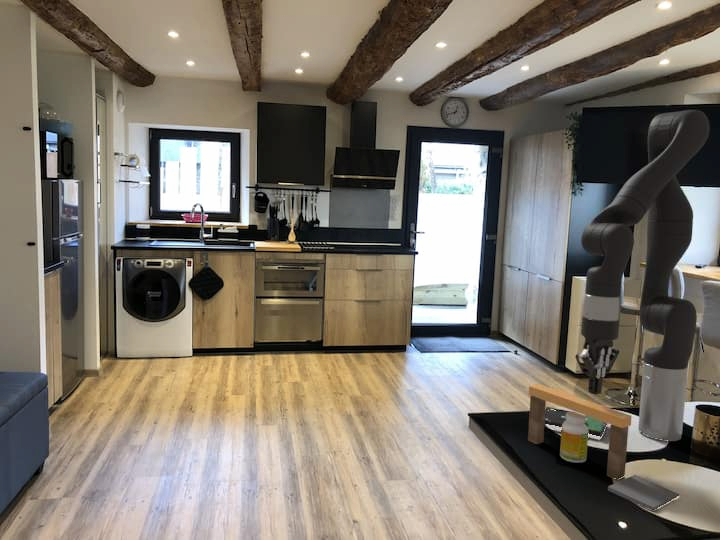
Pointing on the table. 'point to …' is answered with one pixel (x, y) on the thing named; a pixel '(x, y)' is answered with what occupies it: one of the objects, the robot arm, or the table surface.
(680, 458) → the table surface
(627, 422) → the bar
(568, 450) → the supplement bottle
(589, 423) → the disk drive
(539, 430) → the stand
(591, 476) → the table surface
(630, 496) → the book
